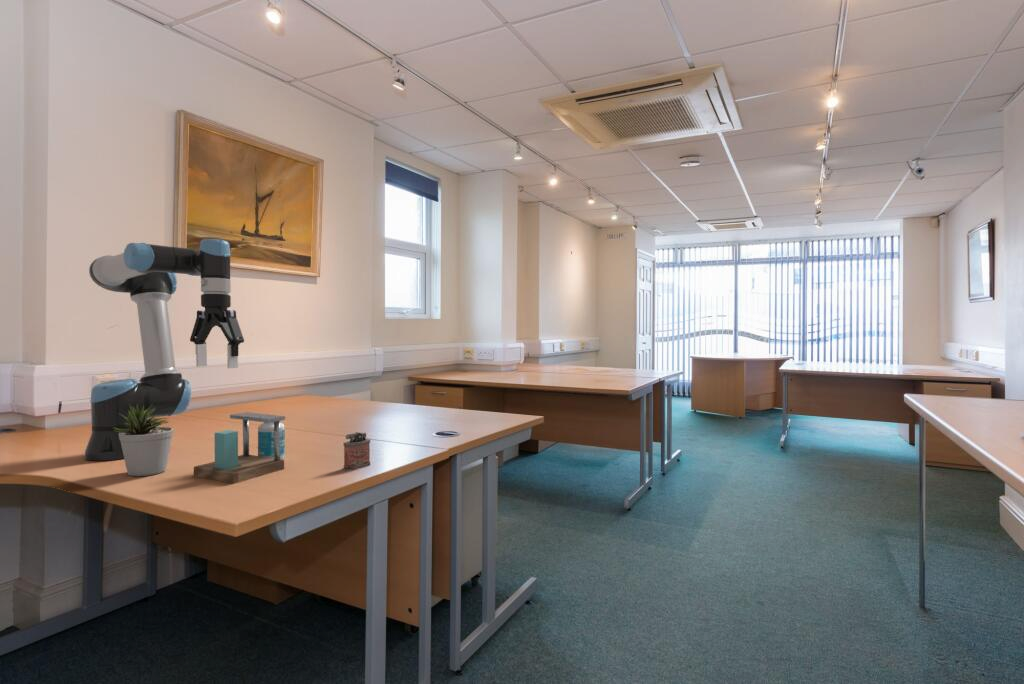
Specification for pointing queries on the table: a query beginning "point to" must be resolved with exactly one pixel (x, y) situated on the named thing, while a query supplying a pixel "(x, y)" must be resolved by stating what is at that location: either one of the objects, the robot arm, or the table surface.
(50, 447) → the table surface
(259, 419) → the grey metal bridge
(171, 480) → the table surface
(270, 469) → the socket plate
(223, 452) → the peg
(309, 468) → the table surface
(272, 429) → the pill bottle
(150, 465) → the potted plant
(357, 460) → the lighter
